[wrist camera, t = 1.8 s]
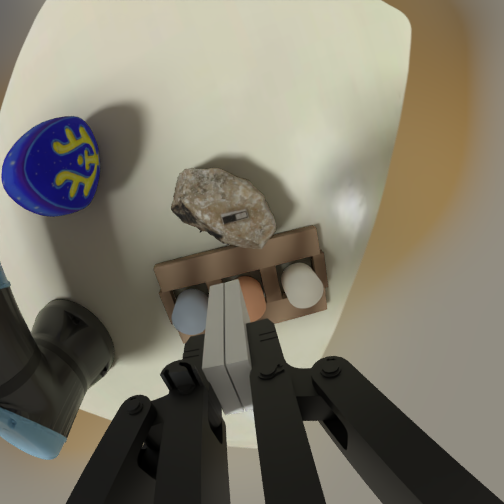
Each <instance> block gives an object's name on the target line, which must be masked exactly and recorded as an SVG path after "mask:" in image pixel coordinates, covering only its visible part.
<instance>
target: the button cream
mask: <svg viewBox="0 0 504 504" xmlns="http://www.w3.org/2000/svg"><path fill="white" fill-rule="evenodd" d="M281 284H282V286H283V289H284V291H285V293H286V295H287V298H288V300H289V302H290V303H291V304H292V305H293V306H295V307H297V308H309V307H311V306H313V305H315V304H316V303H317V302H318V301H319V300H320V299H321V297H322V294H323V284H322V282H321V280H320V279H319V278H318V277H317V275H316V274H315V273H314V271H313V270H312V269H311V267H310V266H308V265H307V264H305V263H293V264H291V265H289V266H288V267H287V268H286V269H285V270H284V271H283V273H282V276H281Z"/></svg>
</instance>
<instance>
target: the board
mask: <svg viewBox="0 0 504 504" xmlns="http://www.w3.org/2000/svg"><path fill="white" fill-rule="evenodd" d="M306 257H311V264H312V270H313V271H314V273H315V274H316V275H317V277H318V278H319V279H320V280H321V282H322V284H323V294H322V297H321V299H320V300H319V301H318V302H317V303H316V304H315V305H313V306H311V307H309V308H297V307H295V306H293V305H292V304H291V303H290V302H289V300H288V298H287V295H286V293H283V294H281V291H280V286H279V281H278V277H277V272H276V267H275V265H279V264H283V263H287V262H291V261H295V260H299V259H303V258H306ZM153 269H154V272H155V275H156V277H157V280H158V283H159V285H160V288H161V290H160V292H159V295H160V298H161V300H162V303H163V305H164V307H165V310H166V312H167V315H168V317H169V320H170V322H171V324H173V323H172V313H173V310H174V307H175V303H176V298H175V295H174V292H173V290H175V289H180V288H184V287H188V286H193V285H197V284H201V283H205V282H206V285H207V288H208V291H209V289H210V286H212V285H217V284H221V283H223V279H222V278H226V277H230V276H234V275H239V274H243V273H247V272H251V271H255V270H260V274H261V279H262V283H263V287H264V291H265V296H266V298H265V302H266V310H265V312H264V314H263V316H262V317H261V318H259V319H258V320H262V319H266V318H268V319H269V320H270V321H272V322H273V323H274V324H275V323H279V322H283V321H287V320H291V319H294V318H298V317H302V316H305V315H309V314H312V313H316V312H319V311H323V310H326V309H327V302H326V294H325V288H326V287H328V281H327V273H326V265H325V258H324V253H323V252H322V251H321V250H320V249H319V242H318V236H317V230H316V227H314V226H313V225H312V226H308V227H303V228H299V229H295V230H291V231H287V232H283V233H278V234H274V235H272V237H271V238H270V239H269V240H268V241H267V243H266V244H265V246H264V247H263V248H262V249H253V248H241V247H236V246H234V245H229V246H225V247H221V248H217V249H213V250H209V251H205V252H201V253H197V254H193V255H189V256H186V257H182V258H178V259H174V260H170V261H166V262H162V263H158V264H156V265H155V266H154V268H153ZM258 320H256V321H258ZM178 332H179V334H180V337H181V339H182V341H183V344H184V343H186V342H187V341H188V339H189V338H190V336H195V335H188V334H184V333H182V332H180V331H178ZM200 334H205V330H204V331H203V332H201V333H199V334H196V335H200Z"/></svg>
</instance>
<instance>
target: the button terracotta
mask: <svg viewBox="0 0 504 504" xmlns="http://www.w3.org/2000/svg"><path fill="white" fill-rule="evenodd" d="M237 279H238V280H239V283H240V287H241V290H242V294H243V297H244V301H245V304H246V308H247V311H248V315H249V318H250V322H254V321H256V320H258V319H259V318H261V317H262V316H263V314H264V312H265V310H266V302H265V298H264V295H263V291H262V287H261V285H260V283H259V282H258V281H257V280H256V279H255V278H253V277H250V276H241V277H238V278H236V279H234V280H237Z"/></svg>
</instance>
